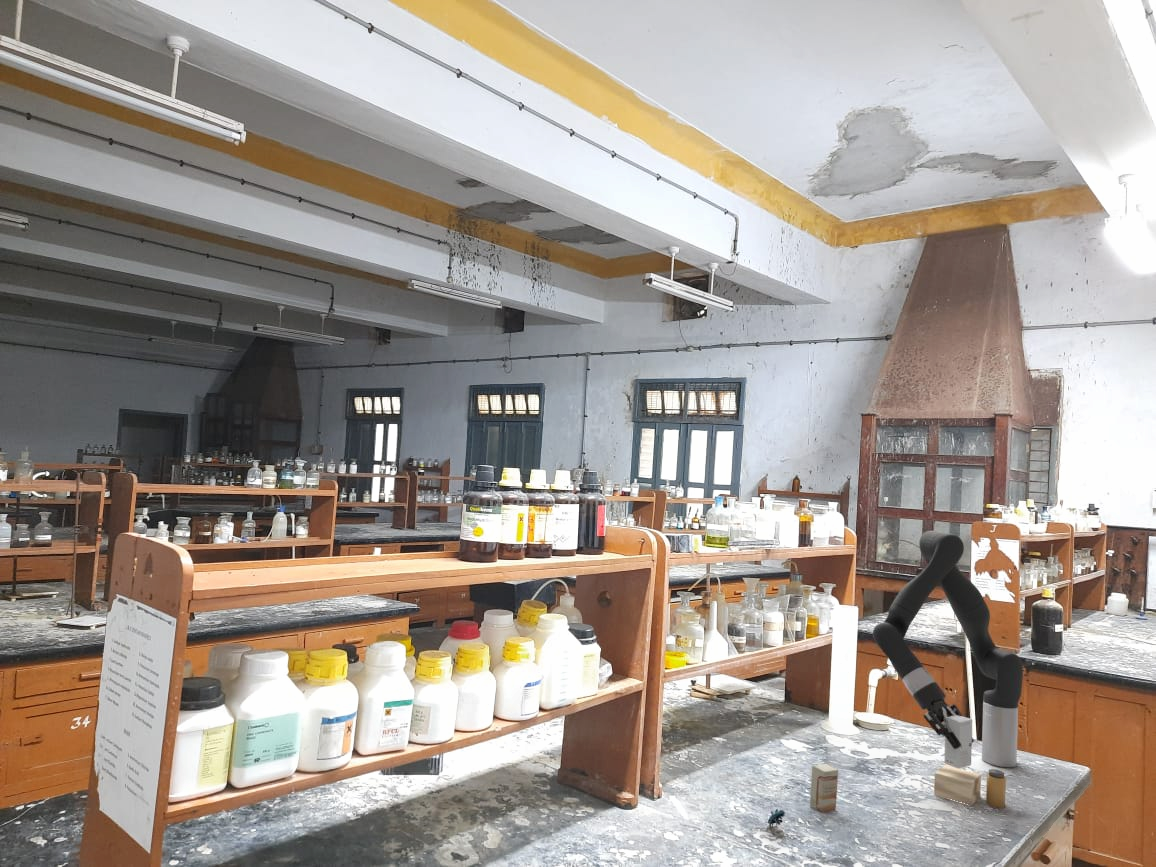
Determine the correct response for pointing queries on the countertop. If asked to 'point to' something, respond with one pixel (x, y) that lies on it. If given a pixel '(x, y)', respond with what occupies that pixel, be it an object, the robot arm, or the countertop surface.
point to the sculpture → (776, 819)
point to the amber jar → (996, 788)
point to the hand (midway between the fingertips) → (964, 745)
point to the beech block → (957, 784)
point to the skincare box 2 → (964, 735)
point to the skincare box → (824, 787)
